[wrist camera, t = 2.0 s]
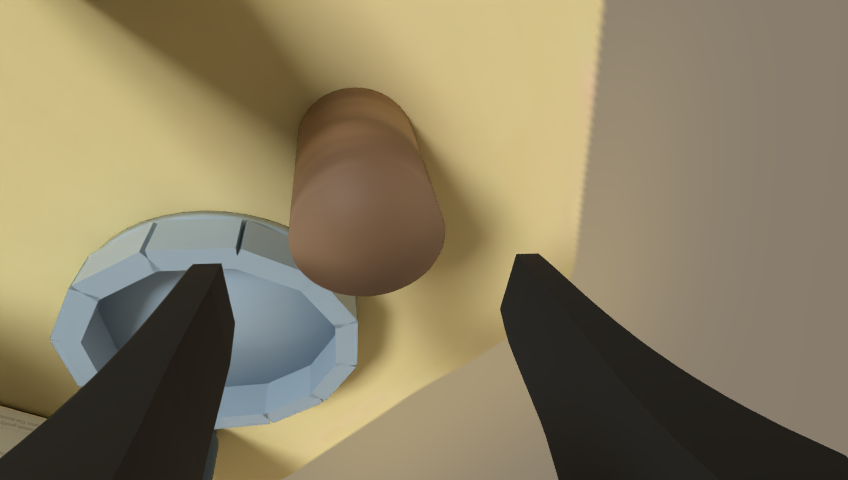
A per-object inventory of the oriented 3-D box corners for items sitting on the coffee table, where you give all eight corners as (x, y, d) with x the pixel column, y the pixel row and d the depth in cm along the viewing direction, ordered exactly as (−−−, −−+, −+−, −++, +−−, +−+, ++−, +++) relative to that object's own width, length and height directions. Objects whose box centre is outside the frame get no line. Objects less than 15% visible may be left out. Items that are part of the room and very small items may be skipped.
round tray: (127, 396, 24) (111, 439, 22) (31, 212, 17) (-4, 254, 15) (353, 377, 27) (356, 415, 25) (356, 209, 19) (359, 244, 17)
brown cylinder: (301, 192, 18) (294, 299, 14) (293, 85, 16) (281, 173, 11) (408, 192, 19) (435, 292, 15) (418, 90, 17) (455, 174, 12)
